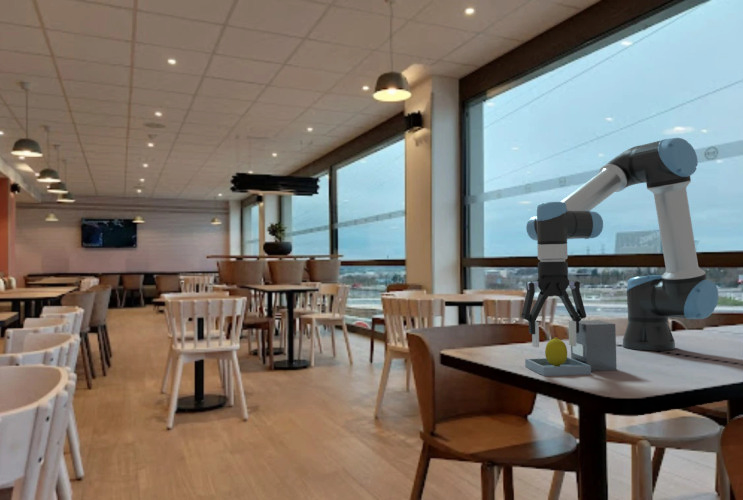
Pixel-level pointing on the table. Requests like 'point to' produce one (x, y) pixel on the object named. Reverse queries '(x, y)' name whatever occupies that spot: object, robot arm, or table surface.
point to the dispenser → (596, 345)
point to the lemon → (556, 352)
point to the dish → (558, 367)
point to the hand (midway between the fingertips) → (554, 346)
